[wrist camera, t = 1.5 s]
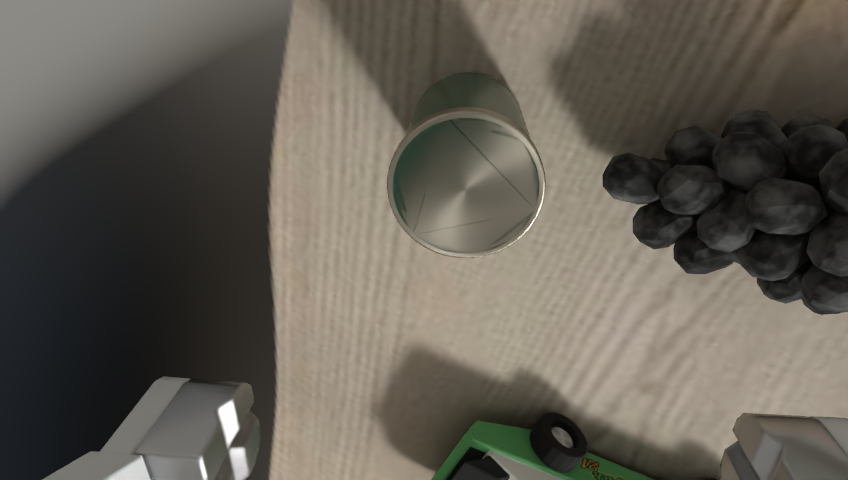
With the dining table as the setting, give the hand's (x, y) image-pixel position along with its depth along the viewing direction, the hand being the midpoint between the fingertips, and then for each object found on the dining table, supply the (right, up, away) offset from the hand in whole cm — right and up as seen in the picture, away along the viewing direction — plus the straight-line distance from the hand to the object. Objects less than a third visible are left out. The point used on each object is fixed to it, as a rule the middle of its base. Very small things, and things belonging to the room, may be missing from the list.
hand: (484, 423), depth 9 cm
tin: (+1, +8, +14) cm, 16 cm away
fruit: (+14, +6, +14) cm, 20 cm away
